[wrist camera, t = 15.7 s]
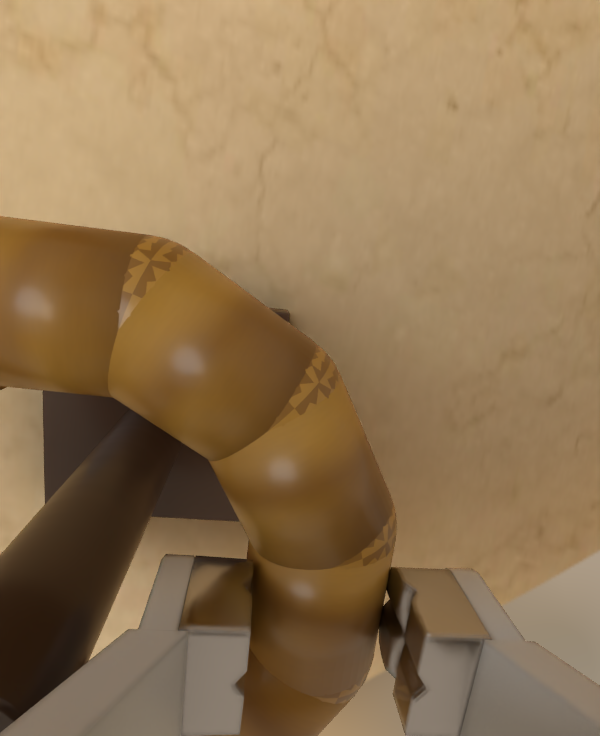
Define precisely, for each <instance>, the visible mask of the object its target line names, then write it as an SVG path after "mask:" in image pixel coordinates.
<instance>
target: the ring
mask: <svg viewBox="0 0 600 736" xmlns="http://www.w3.org/2000/svg"><path fill="white" fill-rule="evenodd" d="M6 387H16V388H25V389H35V390H44V391H54V392H64V393H73V394H83V395H93V396H102V397H112V398H114V399H116V400H117V401H119V402H121V403H122V404H124V405H125V406H127V407H128V408H130V409H131V410H133V411H134V412H136V413H137V414H139V415H140V416H142V417H143V418H145V419H147V420H148V421H150V422H151V423H153V424H154V425H156V426H157V427H159V428H160V429H162V430H163V431H165V432H166V433H168V434H169V435H171V436H172V437H174V438H176V439H177V440H179V441H180V442H182V443H183V444H185V445H186V446H188V447H189V448H191V449H192V450H194V451H195V452H197V453H198V454H200V455H201V456H203V457H205V458H206V459H208V461H209V462H210V464H211V466H212V468H213V470H214V472H215V474H216V476H217V478H218V480H219V482H220V484H221V486H222V488H223V490H224V492H225V493H226V495H227V497H228V499H229V501H230V503H231V505H232V507H233V509H234V511H235V513H236V515H237V517H238V519H239V521H240V523H241V525H242V526H243V528H244V530H245V532H246V534H247V536H248V538H249V543H248V552H247V559H249V560H253V579H252V589H251V595H252V614H251V634H250V644H249V655H248V665H247V672H246V673H245V687H244V702H243V710H242V719H241V727H240V735H208V736H318V735H319V733H320V732H321V731H322V730H323V729H324V728H325V727H326V726H327V725H328V724H329V723H330V722H331V721H332V719H333V718H334V717H335V716H336V715H337V714H338V713H339V712H340V711H341V710H342V709H343V708H344V707H345V705H346V704H347V703H348V702H349V701H350V700H351V699H352V698H353V697H354V696H355V694H356V693H357V692H358V690H359V689H360V687H361V686H362V685H363V683H364V681H365V680H366V677H367V675H368V672H369V670H370V667H371V664H372V660H373V656H374V651H375V645H376V640H377V635H378V630H379V624H380V619H381V614H382V609H383V603H384V598H385V593H386V587H387V582H388V577H389V572H390V566H391V561H392V556H393V551H394V545H395V539H396V527H397V526H396V524H397V521H396V513H395V508H394V505H393V501H392V498H391V495H390V493H389V490H388V488H387V485H386V483H385V481H384V478H383V476H382V473H381V471H380V469H379V466H378V464H377V461H376V459H375V457H374V454H373V452H372V449H371V447H370V445H369V442H368V440H367V437H366V435H365V433H364V430H363V428H362V425H361V423H360V421H359V418H358V416H357V413H356V411H355V409H354V406H353V404H352V401H351V399H350V397H349V394H348V392H347V389H346V387H345V385H344V382H343V380H342V377H341V375H340V373H339V371H338V369H337V367H336V365H335V364H334V362H333V361H332V359H331V358H330V357H329V356H328V354H327V353H326V352H325V351H324V350H323V349H322V348H320V347H319V346H318V345H317V344H316V343H315V342H314V341H312V340H311V339H310V338H308V337H307V336H306V335H304V334H303V333H302V332H300V331H299V330H298V329H296V328H295V327H293V326H292V325H291V324H289V323H288V322H287V321H285V320H284V319H283V318H281V317H280V316H279V315H277V314H276V313H275V312H273V311H272V310H271V309H269V308H268V307H267V306H265V305H264V304H262V303H261V302H260V301H258V300H257V299H256V298H254V297H253V296H252V295H250V294H249V293H248V292H246V291H245V290H244V289H242V288H241V287H240V286H238V285H237V284H236V283H234V282H233V281H231V280H230V279H229V278H227V277H226V276H225V275H223V274H222V273H221V272H219V271H218V270H217V269H215V268H214V267H213V266H211V265H210V264H209V263H207V262H206V261H205V260H203V259H202V258H200V257H199V256H198V255H196V254H195V253H193V252H192V251H190V250H188V249H187V248H185V247H184V246H182V245H180V244H178V243H176V242H173V241H171V240H169V239H165V238H162V237H156V236H152V235H145V234H137V233H129V232H121V231H113V230H105V229H97V228H89V227H81V226H74V225H66V224H58V223H50V222H42V221H34V220H26V219H18V218H11V217H3V216H0V390H2V389H4V388H6Z"/></svg>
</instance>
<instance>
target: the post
mask: <svg viewBox="0 0 600 736" xmlns="http://www.w3.org/2000/svg"><path fill="white" fill-rule="evenodd" d="M269 309H271V310H272V311H273V312H275V313H276V314H277V315H279V316H280V317H281V318H283V319H284V320H285V321H287V322H288V323H289V312H288V310H283V309H274V308H269ZM43 428H44V482H45V505H44V506H43V507H42V508H41V510H40V511H39V512H38V513H37V514H36V515H35V516H34V517H33V519H32V520H31V521H30V522H29V523H28V524H27V525H26V526H25V528H24V529H23V530H22V531H21V532H20V533H19V534H18V536H17V537H16V538H15V539H14V540H13V541H12V542H11V543H10V545H9V546H8V547H7V548H6V549H5V550H4V551H3V552H2V554H1V555H0V733H1V732H2V731H3V730H4V729H5V728H7V727H8V726H9V725H10V724H12V723H13V722H14V721H15V720H17V719H18V718H19V717H20V716H22V715H23V714H24V713H25V712H26V711H28V710H29V709H30V708H31V707H33V706H34V705H35V704H36V703H38V702H39V701H40V700H41V699H43V698H44V697H45V696H46V695H48V694H49V693H50V692H51V691H52V690H54V689H55V688H56V687H57V686H59V685H60V684H61V683H62V682H64V681H65V680H66V679H67V678H69V677H70V676H71V675H72V674H74V673H75V672H76V671H77V670H78V669H80V668H81V667H82V666H83V665H85V664H86V663H87V662H88V661H89V658H90V656H91V654H92V651H93V649H94V647H95V644H96V642H97V640H98V637H99V635H100V633H101V631H102V628H103V626H104V624H105V621H106V619H107V617H108V614H109V612H110V610H111V607H112V605H113V603H114V601H115V598H116V596H117V594H118V591H119V589H120V587H121V584H122V582H123V580H124V578H125V575H126V573H127V571H128V568H129V566H130V564H131V561H132V559H133V557H134V554H135V552H136V550H137V548H138V545H139V543H140V541H141V538H142V536H143V534H144V531H145V529H146V527H147V524H148V522H149V520H150V518H151V517H169V518H186V519H204V520H222V521H239V519H238V517H237V515H236V513H235V511H234V509H233V507H232V505H231V503H230V501H229V499H228V497H227V495H226V493H225V492H224V490H223V488H222V486H221V484H220V482H219V480H218V478H217V476H216V474H215V472H214V470H213V468H212V466H211V464H210V462H209V461H208V459H206V458H205V457H203V456H201V455H200V454H198V453H197V452H195V451H194V450H192V449H191V448H189V447H188V446H186V445H185V444H183V443H182V442H180V441H179V440H177V439H176V438H174V437H172V436H171V435H169V434H168V433H166V432H165V431H163V430H162V429H160V428H159V427H157V426H156V425H154V424H153V423H151V422H150V421H148V420H147V419H145V418H143V417H142V416H140V415H139V414H137V413H136V412H134V411H133V410H131V409H130V408H128V407H127V406H125V405H124V404H122V403H121V402H119V401H117V400H116V399H114V398H112V397H102V396H93V395H83V394H73V393H64V392H54V391H44V390H43ZM239 522H240V521H239Z"/></svg>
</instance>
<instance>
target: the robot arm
mask: <svg viewBox="0 0 600 736" xmlns="http://www.w3.org/2000/svg"><path fill="white" fill-rule="evenodd" d="M252 579H253V560H249V559H235V558H221V557H207V556H196V557H194V556H190V555H171V554H166V555H165V556H164V557H163V559H162V560H161V563H160V566H159V569H158V572H157V575H156V578H155V581H154V584H153V587H152V590H151V593H150V596H149V599H148V602H147V605H146V608H145V611H144V614H143V617H142V620H141V623H140V625H139V628H138V629H128V630H127V631H125V632H124V633H123V634H122V635H121V636H119V637H118V638H117V639H116V640H114V641H113V642H112V643H111V644H109V645H108V646H107V647H106V648H104V649H103V650H102V651H101V652H99V653H98V654H97V655H96V656H95V657H93V658H92V659H91V660H90V661H88V662H87V663H86V664H85V665H83V666H82V667H81V668H80V669H78V670H77V671H76V672H75V673H74V674H72V675H71V676H70V677H69V678H67V679H66V680H65V681H64V682H62V683H61V684H60V685H59V686H57V687H56V688H55V689H54V690H52V691H51V692H50V693H49V694H48V695H46V696H45V697H44V698H43V699H41V700H40V701H39V702H38V703H36V704H35V705H34V706H33V707H31V708H30V709H29V710H28V711H26V712H25V713H24V714H23V715H22V716H20V717H19V718H18V719H17V720H15V721H14V722H13V723H12V724H10V725H9V726H8V727H7V728H5V729H4V730H3V731H2V732H1V733H0V736H208V735H240V727H241V719H242V710H243V702H244V687H245V673H246V672H247V665H248V655H249V644H250V634H251V614H252V595H251V589H252ZM386 590H387V592H388V595H389V598H390V600H389V601H388V602H387V603H386V604H385V605H384V606H383V609H382V614H381V619H380V624H379V644H380V650H381V656H382V659H383V663H384V666H385V669H386V670H387V671H388V672H389V673H390V674H391V675H392V676H393V677H394V678H395V679H396V680H395V685H394V690H393V697H394V700H395V703H396V706H397V709H398V713H399V716H400V719H401V722H402V726H403V729H404V733H405V736H600V685H598V684H597V683H595V682H594V681H592V680H590V679H589V678H587V677H586V676H585V675H583V674H582V673H580V672H579V671H577V670H576V669H574V668H573V667H571V666H570V665H569V664H567V663H565V662H564V661H563V660H561V659H560V658H558V657H557V656H555V655H554V654H552V653H551V652H549V651H548V650H546V649H545V648H543V647H542V646H540V645H539V644H538V643H536V642H531V641H525V639H524V638H523V636H522V635H521V634H520V632H519V631H518V629H517V628H516V627H515V625H514V624H513V622H512V621H511V619H510V618H509V616H508V615H507V613H506V612H505V610H504V609H503V608H502V606H501V605H500V603H499V602H498V600H497V599H496V598H495V596H494V595H493V593H492V592H491V590H490V589H489V587H488V586H487V585H486V583H485V582H484V580H483V579H482V577H481V576H480V574H479V573H478V572H476V571H475V570H473V569H464V568H445V569H428V568H405V567H391V569H390V572H389V577H388V582H387V587H386Z"/></svg>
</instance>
